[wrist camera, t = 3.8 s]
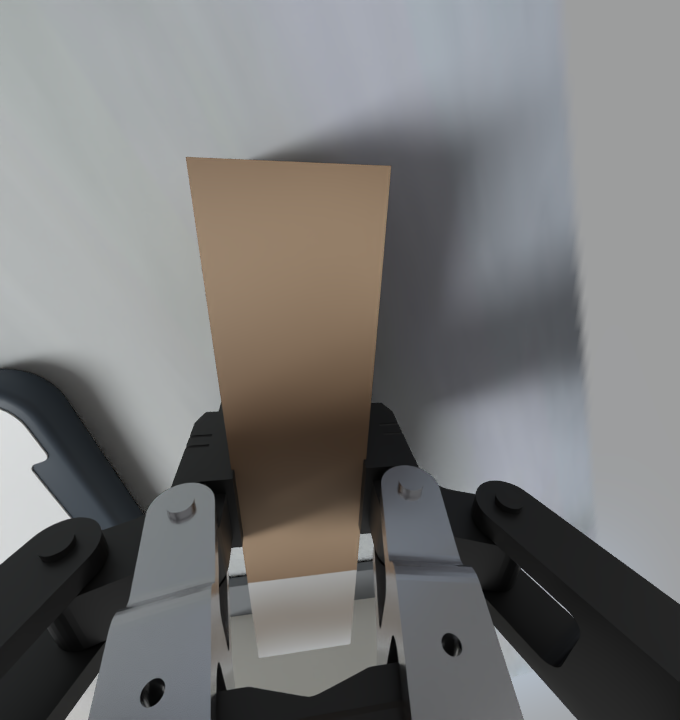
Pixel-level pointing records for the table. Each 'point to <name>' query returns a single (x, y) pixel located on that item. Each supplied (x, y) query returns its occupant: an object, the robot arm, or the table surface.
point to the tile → (304, 657)
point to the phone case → (50, 465)
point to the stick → (294, 374)
